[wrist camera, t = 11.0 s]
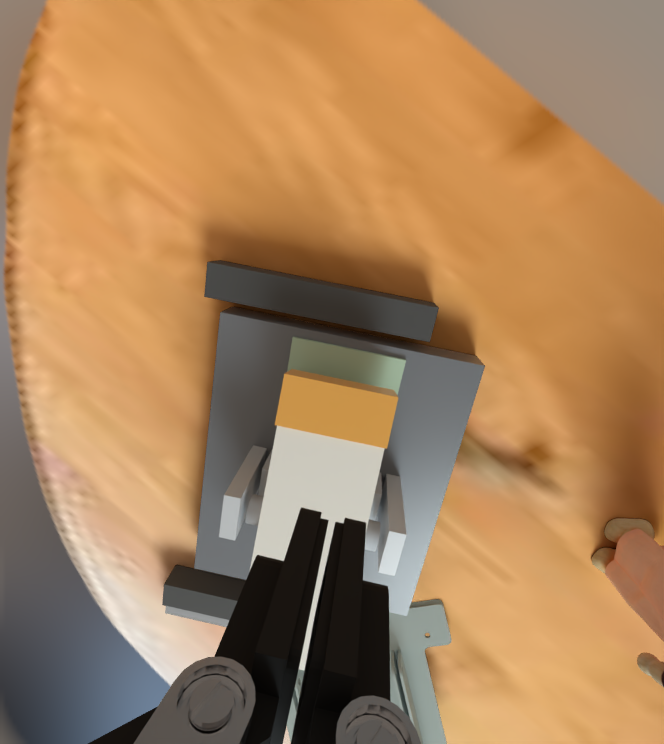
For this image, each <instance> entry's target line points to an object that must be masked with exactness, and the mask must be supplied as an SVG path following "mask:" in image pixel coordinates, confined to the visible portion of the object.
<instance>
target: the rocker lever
mask: <svg viewBox="0 0 664 744" xmlns="http://www.w3.org/2000/svg"><path fill="white" fill-rule="evenodd" d="M397 402H398V396H397V394H396V392H395V391H394V390H392V389H387V388H382V387H378V386H373V385H368V384H363V383H358V382H353V381H348V380H344V379H339V378H334V377H329V376H324V375H319V374H315V373H310V372H305V371H300V370H295V369H291V370H289V371H288V372H286V373H285V374H284V378H283V383H282V389H281V394H280V399H279V405H278V410H277V415H276V421H275V425H277V429H276V434H275V439H274V445H273V450H272V455H271V460H270V466H269V471H268V476H267V482H266V487H265V492H264V496H260V495H255V494H253V495H252V497H251V499H250V502H249V505H248V509H247V514H246V521H245V522H246V523H247V524H251V525H256V526H258V529H257V534H256V540H255V545H254V550H253V556H252V561H251V566H250V569H251V567H252V565H253V562H254V560H255V558H256V556H257V555H261V556H265V557H269V558H273V559H277V560H281V561H284V559H285V556H286V553H287V549H288V546H289V543H290V540H291V537H292V534H293V531H294V527H295V524H296V521H297V518H298V515H299V512H300V509H301V507H302V508H306V509H310V510H315V511H319V512H322V514H321V518H322V519H327V520H329V521H328V526H327V531H326V536H325V541H324V546H323V551H322V556H321V561H320V566H319V571H318V576H317V581H316V586H315V591H314V596H313V601H312V606H311V611H310V616H309V621H308V626H307V631H306V636H305V641H304V646H303V651H302V656H301V661H300V665H299V670H305V665H306V659H307V654H308V649H309V643H310V638H311V633H312V627H313V622H314V617H315V612H316V607H317V602H318V598H319V593H320V589H321V584H322V580H323V575H324V571H325V566H326V562H327V557H328V553H329V548H330V544H331V539H332V535H333V530H334V526H335V522H339V523H344V519H345V518H349V519H353V520H358V521H362V522H366V536H365V550H369V551H374V552H375V551H376V549H377V545H378V541H379V535H380V522H379V521H374V520H370V519H369V517H370V512H371V507H372V503H373V498H374V494H375V489H376V485H377V480H378V476H379V471H380V467H381V462H382V458H383V453H384V449H385V448H386V449H387V447H388V442H389V438H390V433H391V429H392V424H393V420H394V415H395V411H396V406H397Z"/></svg>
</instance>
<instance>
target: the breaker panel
mask: <svg viewBox="0 0 664 744" xmlns="http://www.w3.org/2000/svg"><path fill="white" fill-rule="evenodd" d="M484 367H485V365H484V364H483V363H482V362H481V361H480V360H479V358H478V357H477V356H475V355H470V354H465V353H460V352H455V351H450V350H445V349H440V348H436V347H431V346H426V345H421V344H416V343H411V342H406V341H401V340H396V339H391V338H386V337H381V336H376V335H371V334H366V333H361V332H356V331H351V330H346V329H341V328H337V327H332V326H327V325H322V324H317V323H312V322H307V321H302V320H297V319H292V318H287V317H282V316H277V315H272V314H267V313H262V312H257V311H252V310H247V309H243V308H238V307H233V306H232V307H230V308H228V309H226V310H224V311H222V312H220V321H219V331H218V341H217V351H216V360H215V370H214V380H213V390H212V399H211V409H210V419H209V429H208V439H207V448H206V458H205V468H204V478H203V488H202V497H201V507H200V517H199V527H198V536H197V546H196V556H195V566H194V568H195V569H199V570H204V571H208V572H213V573H217V574H222V575H226V576H231V577H235V578H239V579H244V580H246V579H247V577H248V574H249V572H250V566H251V561H252V556H253V550H254V545H255V540H256V534H257V529H258V526H256V525H251V524H247V523H246V522H245V521H246V514H247V509H248V505H249V502H250V499H251V497H252V495H253V494H255V495H260V496H264V492H265V487H266V482H267V476H268V471H269V466H270V460H271V455H272V450H273V445H274V439H275V434H276V429H277V425H275V421H276V415H277V410H278V405H279V399H280V394H281V389H282V383H283V378H284V374H285V373H286V372H288V371H289V370H291V369H295V370H300V371H305V372H310V373H315V374H319V375H324V376H329V377H334V378H339V379H344V380H348V381H353V382H358V383H363V384H368V385H373V386H378V387H382V388H387V389H392V390H394V391H395V392H396V394H397V396H398V402H397V406H396V411H395V415H394V420H393V424H392V429H391V433H390V438H389V442H388V447H387V449H386V448H385V449H384V453H383V458H382V462H381V467H380V471H379V476H378V480H377V485H376V489H375V494H374V498H373V503H372V507H371V512H370V517H369V519H370V520H374V521H379V522H380V535H379V541H378V545H377V549H376V551H375V552H374V551H369V550H365V552H364V568H363V580H364V581H368V582H373V583H377V584H381V585H385V586H388V589H389V612H390V613H395V614H399V615H404V616H407V614H408V611H409V608H410V605H411V601H412V598H413V595H414V592H415V589H416V585H417V582H418V579H419V576H420V573H421V569H422V566H423V563H424V560H425V557H426V553H427V550H428V547H429V544H430V541H431V537H432V534H433V531H434V528H435V524H436V521H437V518H438V515H439V512H440V508H441V505H442V502H443V499H444V496H445V492H446V489H447V486H448V483H449V480H450V476H451V473H452V470H453V467H454V464H455V460H456V457H457V454H458V451H459V448H460V444H461V441H462V438H463V435H464V431H465V428H466V425H467V422H468V419H469V415H470V412H471V409H472V406H473V403H474V399H475V396H476V393H477V390H478V387H479V383H480V380H481V377H482V374H483V371H484Z"/></svg>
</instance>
